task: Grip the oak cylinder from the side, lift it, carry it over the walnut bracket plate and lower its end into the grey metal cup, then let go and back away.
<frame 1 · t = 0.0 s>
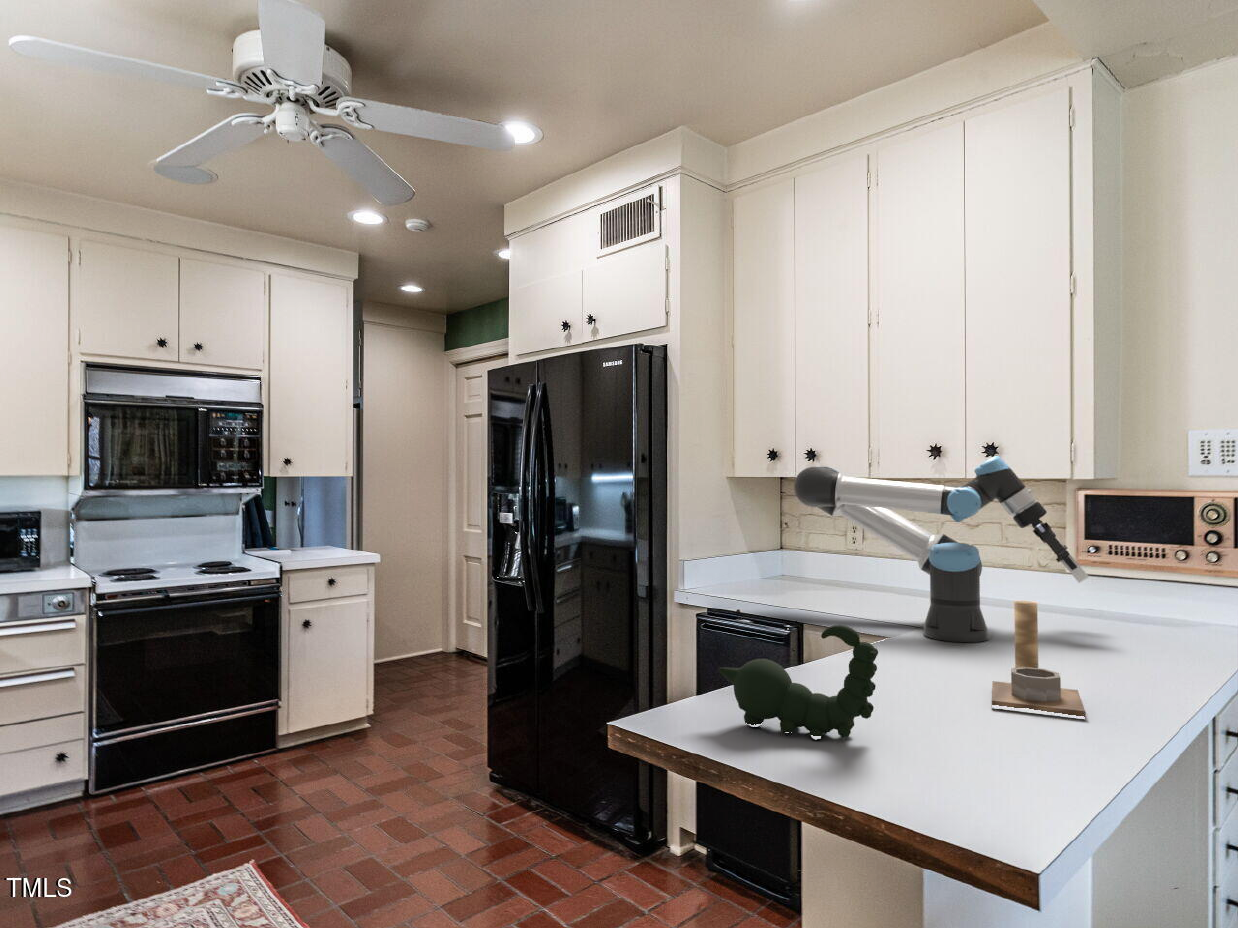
hand: (1081, 576, 190), 15 cm above the counter, tool tilted 35°, fingers open, 13 cm apart
cup bracket: (1035, 703, 134), on the counter
toy figurine: (795, 733, 120), on the counter
oak cylinder: (1027, 683, 147), on the counter
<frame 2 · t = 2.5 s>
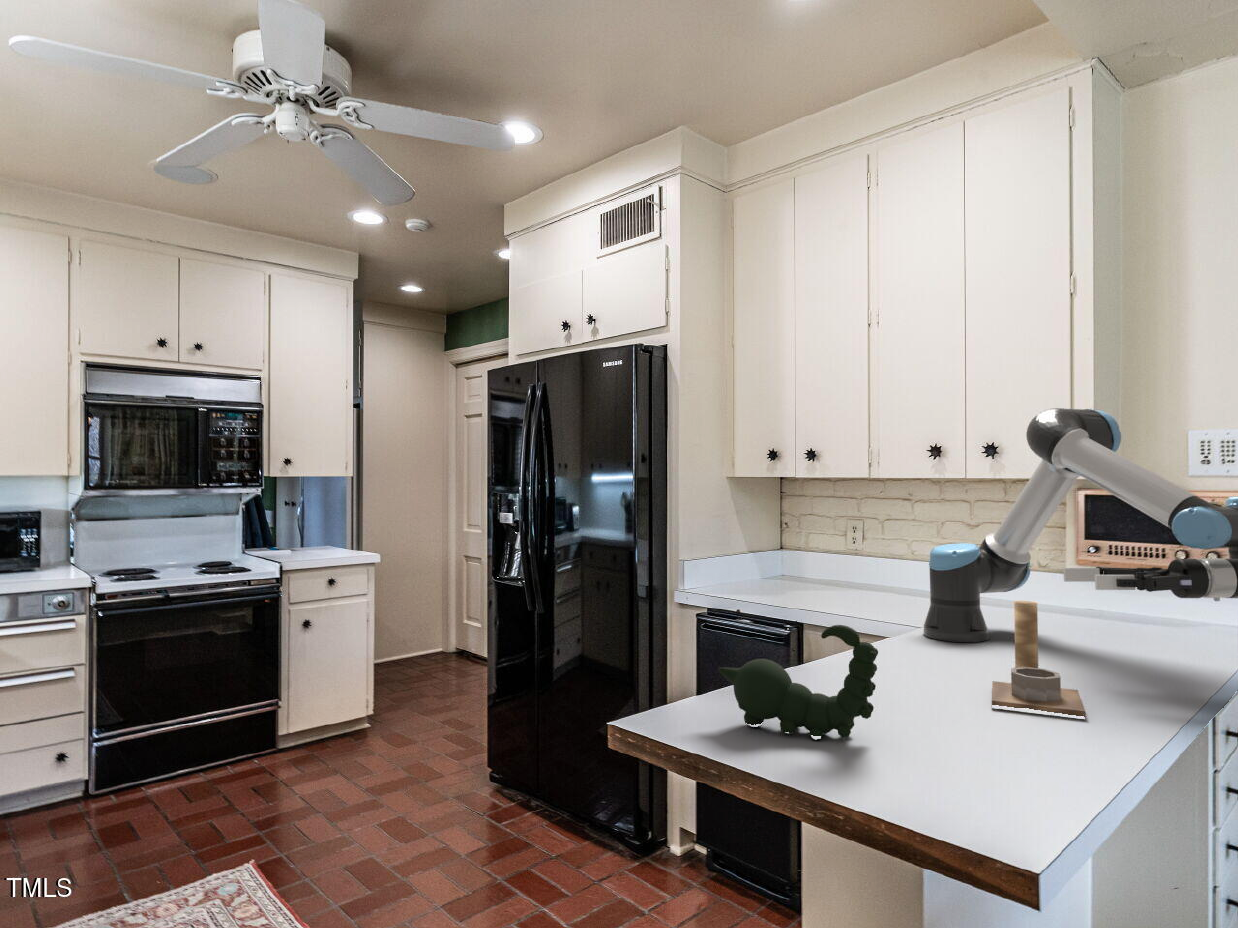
hand: (1079, 578, 146), 21 cm above the counter, tool horizontal, fingers open, 13 cm apart
nothing on the counter moved.
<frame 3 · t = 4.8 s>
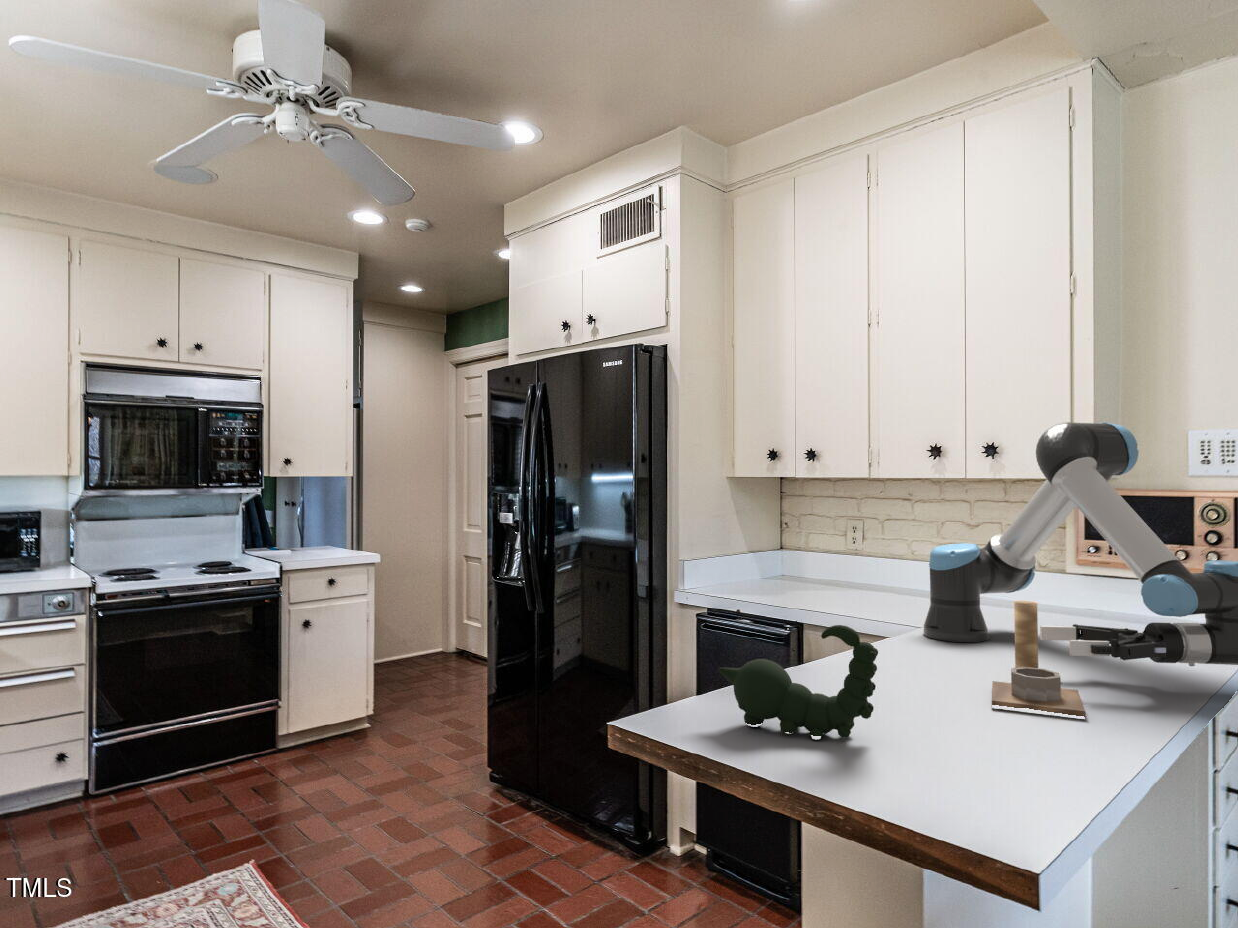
hand: (1054, 639, 146), 9 cm above the counter, tool horizontal, fingers open, 13 cm apart
nothing on the counter moved.
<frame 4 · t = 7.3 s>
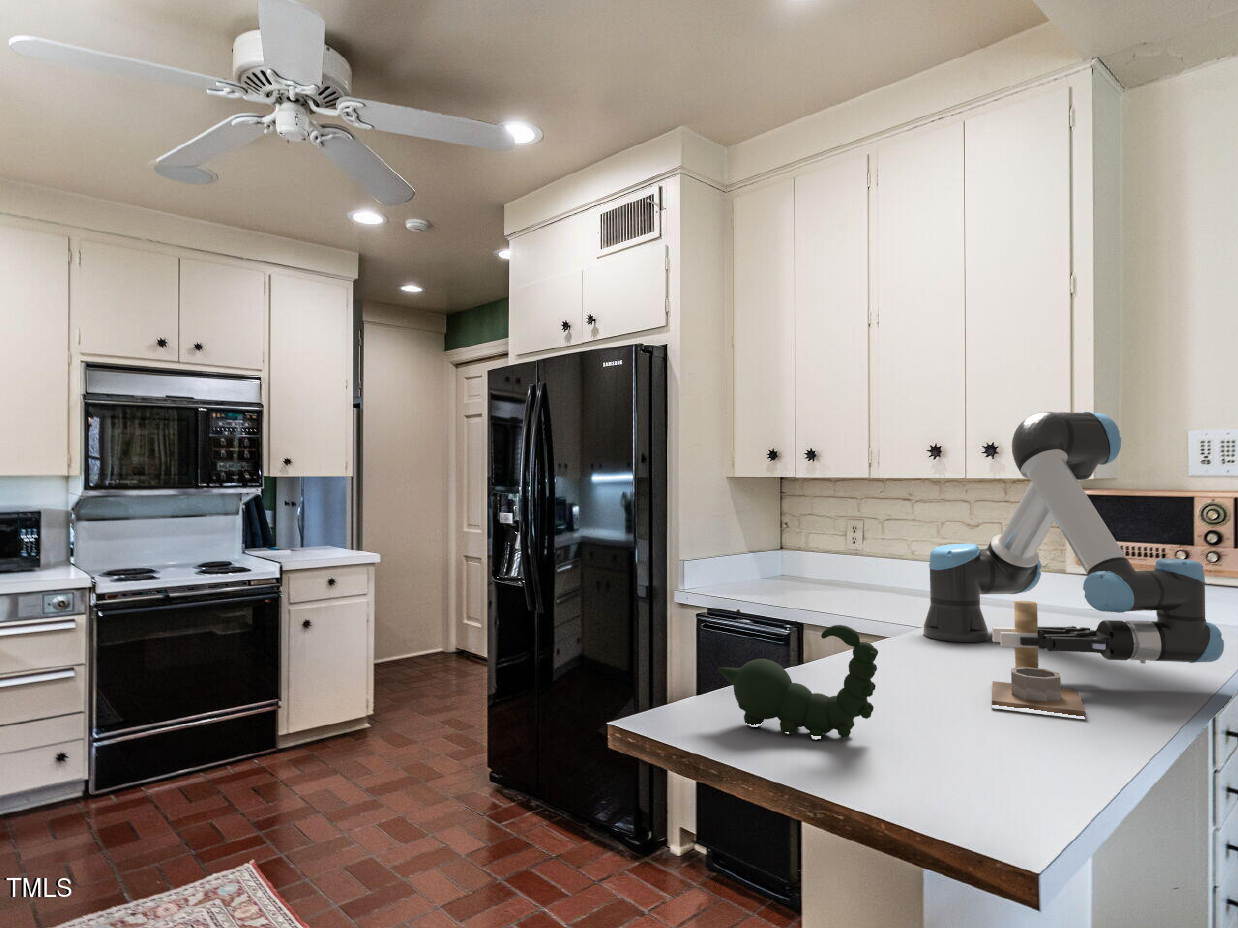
hand: (997, 637, 148), 9 cm above the counter, tool horizontal, fingers closed on oak cylinder, 4 cm apart
oak cylinder: (1027, 683, 147), on the counter, touching gripper
everything else where it was.
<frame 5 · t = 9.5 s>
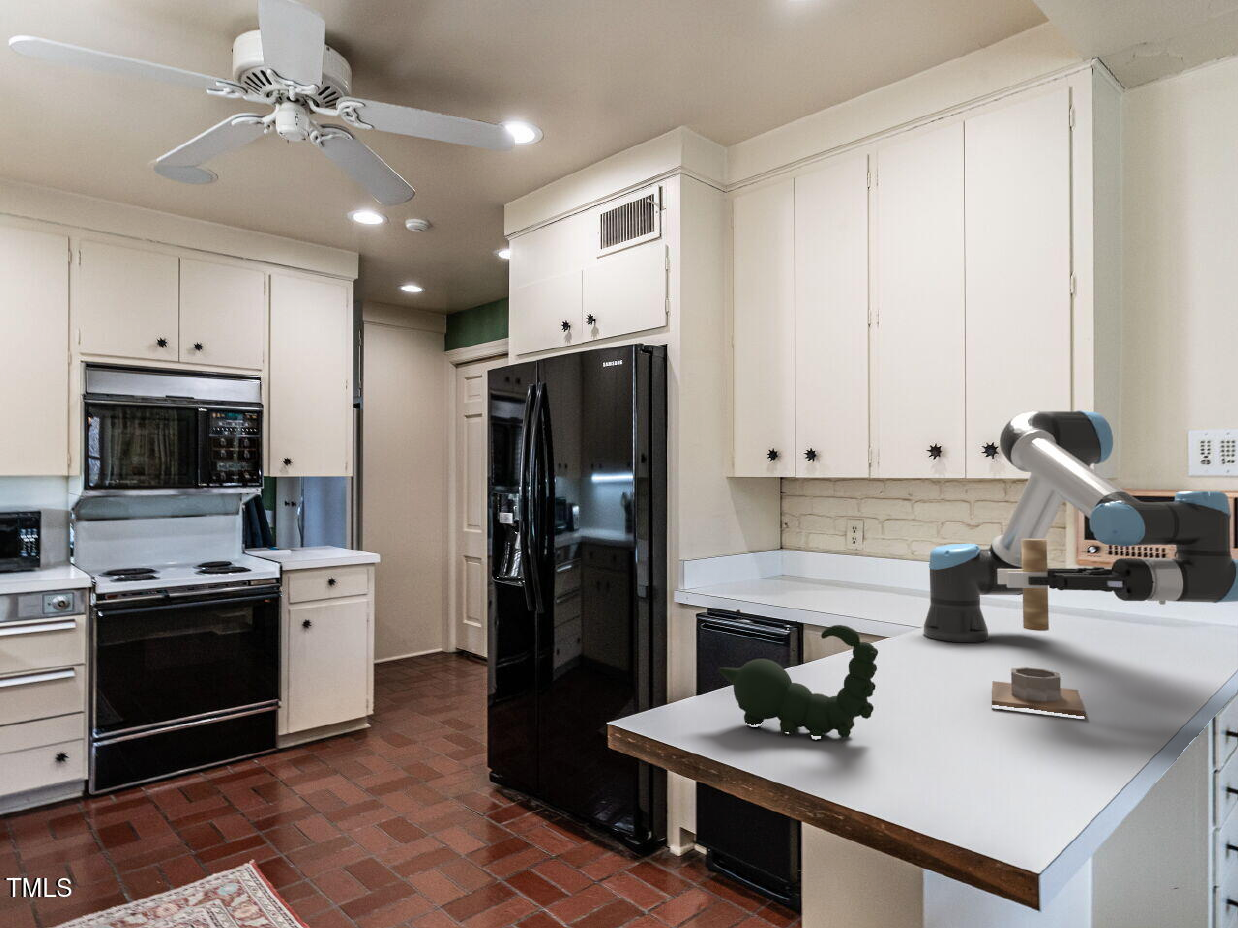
hand: (1003, 578, 136), 22 cm above the counter, tool horizontal, fingers closed on oak cylinder, 4 cm apart
oak cylinder: (1036, 628, 135), point 13 cm above the counter, touching gripper
everything else where it was.
when the fingers open (12 cm above the counter, at t = 12.2 s): oak cylinder drops 1 cm, resting on cup bracket.
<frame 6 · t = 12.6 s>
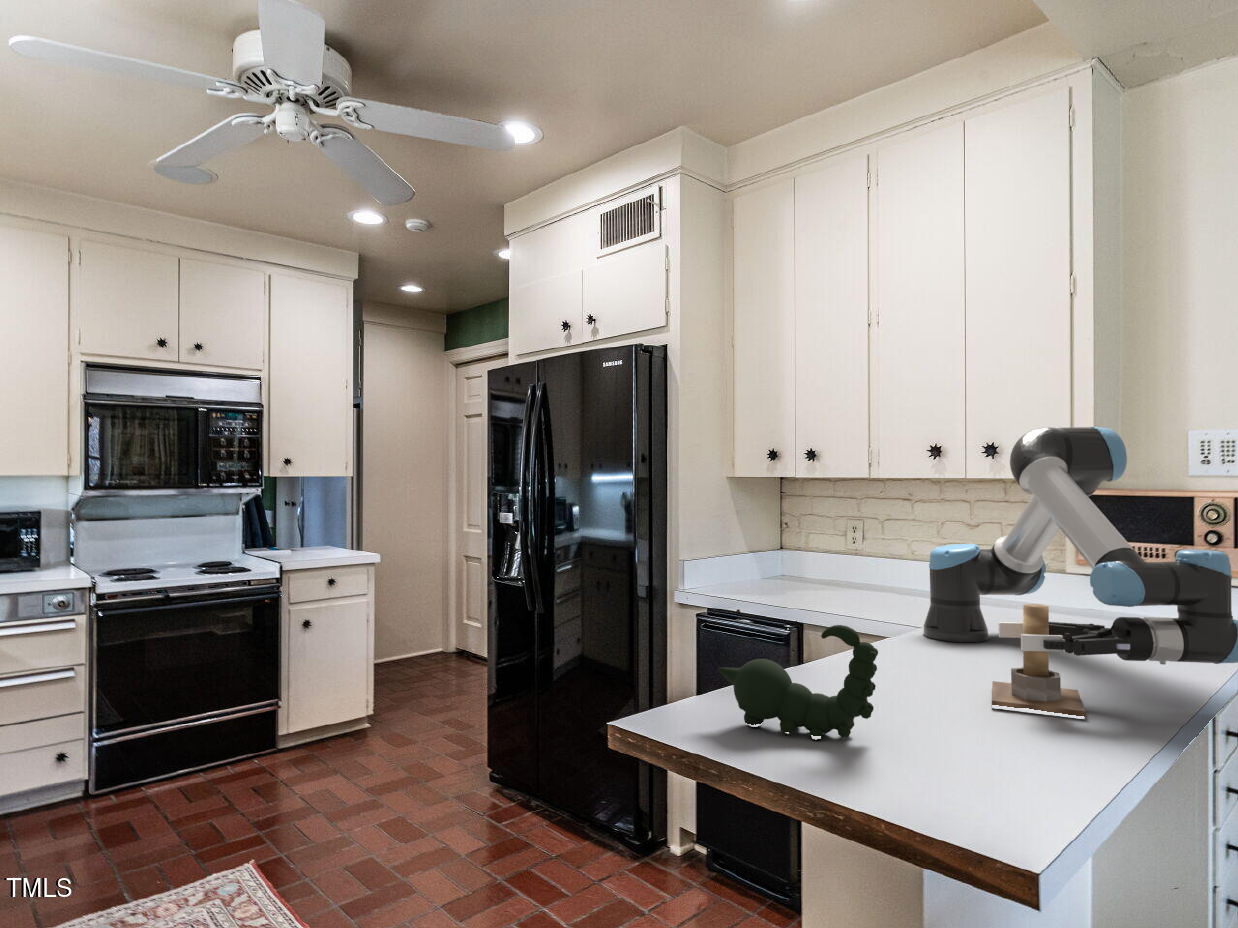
hand: (1010, 635, 135), 12 cm above the counter, tool horizontal, fingers open, 10 cm apart
oak cylinder: (1035, 694, 134), point 2 cm above the counter, touching cup bracket
everything else where it was.
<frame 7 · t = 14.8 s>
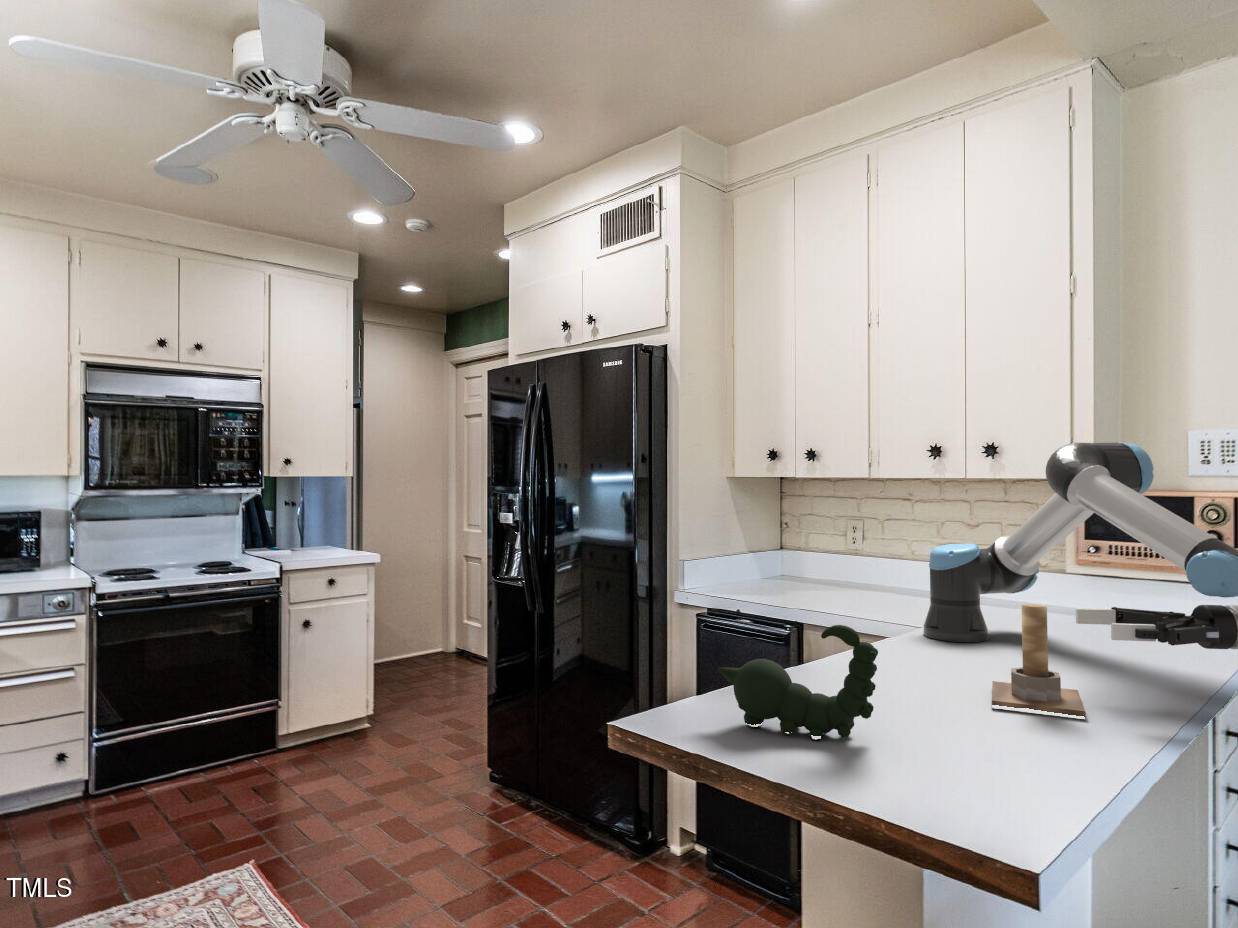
hand: (1093, 623, 133), 15 cm above the counter, tool horizontal, fingers open, 13 cm apart
nothing on the counter moved.
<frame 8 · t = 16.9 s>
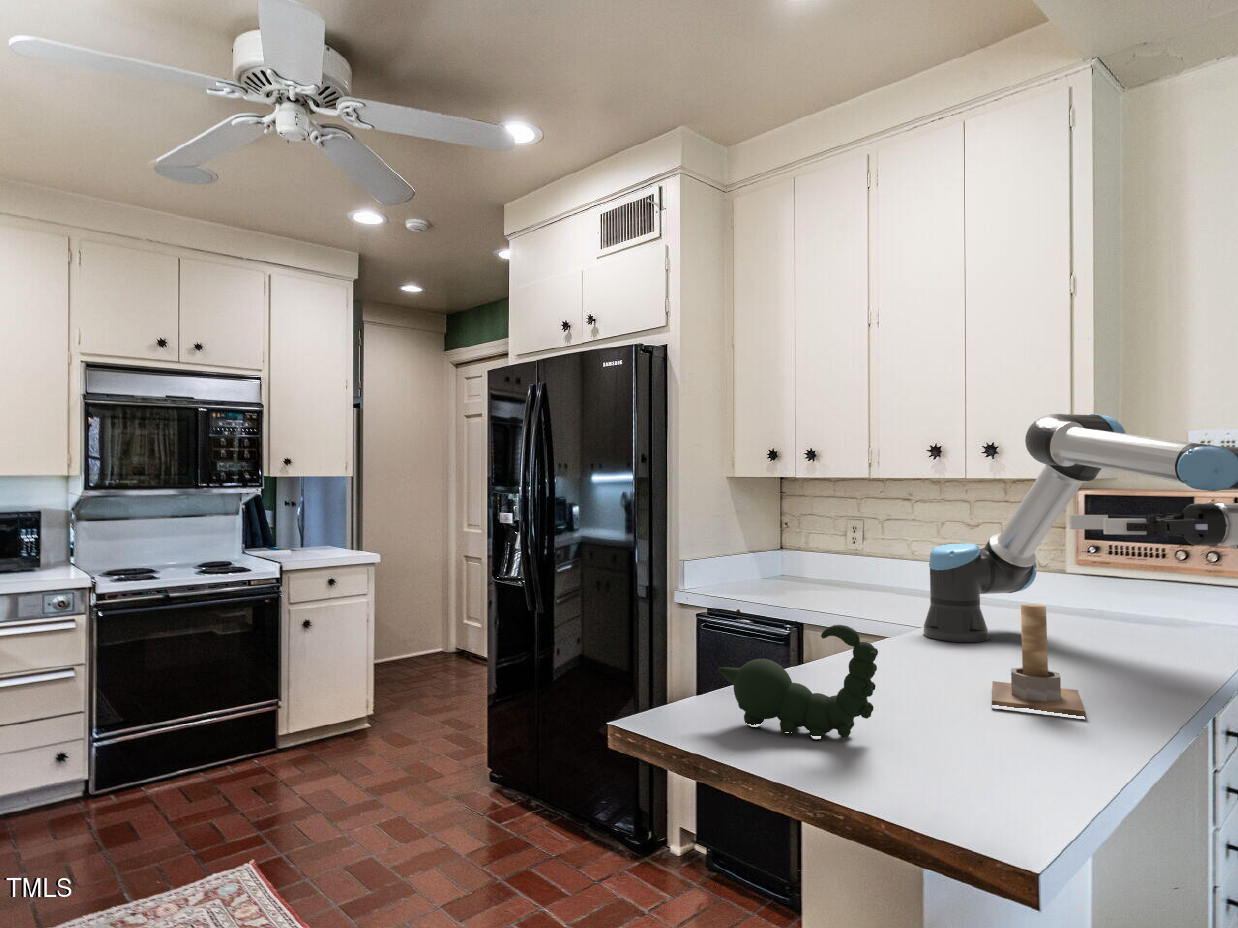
hand: (1086, 524, 137), 32 cm above the counter, tool horizontal, fingers open, 13 cm apart
nothing on the counter moved.
at the end: oak cylinder 0.0 cm off-centre on the cup bracket, point 1.5 cm above the cup bracket's base; oak cylinder tilted 0°; the gripper is holding nothing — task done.
